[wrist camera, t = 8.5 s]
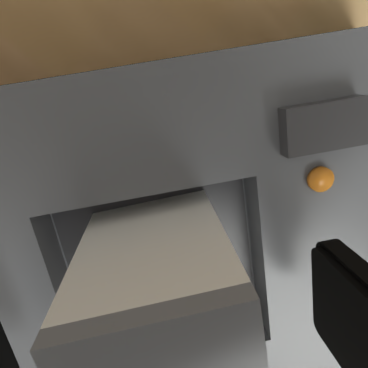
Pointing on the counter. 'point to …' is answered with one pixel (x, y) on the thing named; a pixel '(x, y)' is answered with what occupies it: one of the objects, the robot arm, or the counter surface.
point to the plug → (154, 294)
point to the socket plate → (193, 170)
